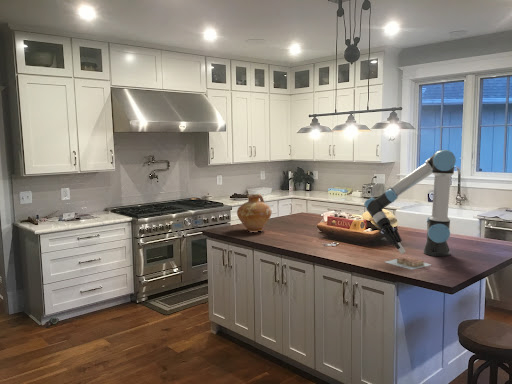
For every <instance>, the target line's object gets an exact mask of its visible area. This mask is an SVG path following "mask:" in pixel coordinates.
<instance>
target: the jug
mask: <svg viewBox="0 0 512 384" xmlns="http://www.w3.org/2000/svg"><path fill="white" fill-rule="evenodd" d="M246 197H247V201H246V202H244V203H242V204H240V206H239V207H238V208H237V211H236V214H237V217H238V220H240V222H241V223H242V225H243V226H244V227H245V228H246V229H247V230H248V231H261V230H262V229H263V228H264V227H265V225H266V224H267V222H268V221H269V220H270V219H271V215H272V208H271V207H270V206H269V205H268V204H267V203H265V199H264V197H263V196H262V194H261V193H255V194H249V195H248V194H247V195H246ZM247 230H246V231H247ZM248 231H247V232H248ZM261 232H262V231H261Z"/></svg>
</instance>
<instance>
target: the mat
mask: <svg viewBox="0 0 512 384" xmlns="http://www.w3.org/2000/svg"><path fill="white" fill-rule="evenodd" d="M397 259H398V258H396V259H391V260H387V261H384V263H386V264H389V265H393V266H397V267H401V268H404V269H408V270H411V271H412V270H416V269H421V268H425V267H428V266H432V264H430V263H426V262H424V265H422V266H418V267H410V266H407V265H403V264H399V263H397Z"/></svg>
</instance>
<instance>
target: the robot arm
mask: <svg viewBox="0 0 512 384" xmlns="http://www.w3.org/2000/svg"><path fill="white" fill-rule="evenodd" d="M456 159H457V158H456V156H455V154H454V153H453V152H452V150H451V151H450V150H448V149H438V150H437V151H435V152H434V153H433V155H432V156H430V157H429V158H428V159H426V160H425V162H424V163H423V164H421V165H420V166H419V167H417V168H416V169H415V170H413V171H412V172H410V173H409V174H407V175H406V176H404V177H403V178H401V179H400V180H399V181H397V182H395V183H394V184H392V185H391V186H389V187H388V188H387V189H384V190H383V191H382V192H381V195H379V196H378V197H376V198H375V197H370V198H368V199H366V200H365V202H364V207H365V209H366V211H367V212H368V213H369V215H370V217H372V219H373V221H374V222H375V223H376V226H377V227H378V228H379V229H380V230H381V231H379V234H380V235H381V236H383V237H384V238H385V239H386V241H387V242H388V243H389V244H390V245H392V246H393V247H394V246H395V248H396V249H397V250H398V251H399V254H400V255H404V254H405V253H406V252H407V251H406V250H405V248H404V246H403V244H402V243H401V242H402V241H403V240H402V238H401V235H400V233H399V231H398V227H393V225H391V221H390V219H389V217H387V215H386V213H385V212H384V211H383V209H385V208H386V207H388V206H389V205H390V204H392V203H394V202H395V201H397V200H398V197H399V196H401V195H403V194H404V193H405V192H407V191H408V190H409V189H411V188H413V187H414V186H416V185H417V184H418V183H421V182H422V181H424V180H425V179H426V178H428V177H429V176H431V175H432V174H433V175H434V181H433V194H432V196H433V197H432V206H431V207H432V208H431V209H432V211H431V216H429V217H427V219H426V242H425V244H424V247H423V254H424V255H428V256H433V257H447V256H450V255H451V254H450V253H451V251H450V247H449V245H448V239H449V238H450V235H451V230H450V229H451V228H450V227H451V219H450V218H449V217H448V215H449V204H450V202H449V201H450V189H451V177H452V176H453V175H454V172H455V165H456V162H457V161H456Z"/></svg>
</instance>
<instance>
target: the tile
mask: <svg viewBox="0 0 512 384" xmlns="http://www.w3.org/2000/svg"><path fill="white" fill-rule="evenodd" d="M396 259H397V263H399V264H403V265H407V266H410V267H418V266H422V265H424V263H425V262H424V260H422V259H417V258H413V257H409V256H403V257H399V258H396Z"/></svg>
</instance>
